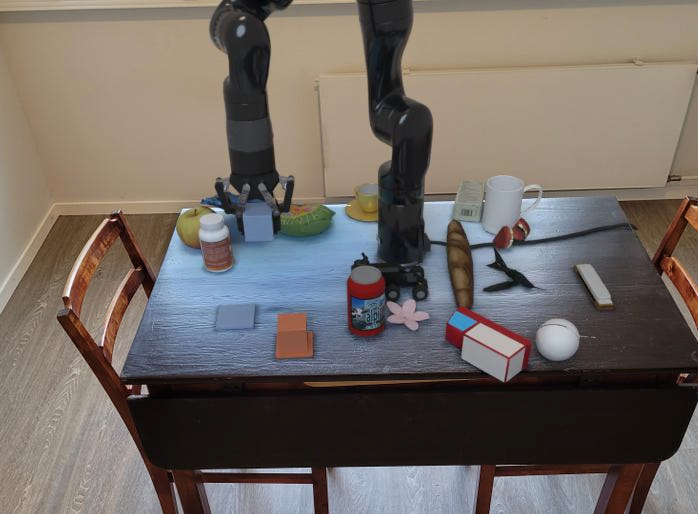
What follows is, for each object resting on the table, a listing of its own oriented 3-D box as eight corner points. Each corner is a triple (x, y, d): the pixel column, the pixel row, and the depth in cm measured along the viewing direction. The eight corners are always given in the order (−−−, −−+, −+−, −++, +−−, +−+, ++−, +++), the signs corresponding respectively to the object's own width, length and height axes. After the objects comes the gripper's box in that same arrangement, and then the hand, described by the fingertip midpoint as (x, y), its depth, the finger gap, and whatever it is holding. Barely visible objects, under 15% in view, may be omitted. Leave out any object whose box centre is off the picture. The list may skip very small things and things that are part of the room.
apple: (235, 233, 153) (222, 200, 148) (204, 257, 148) (189, 224, 143) (207, 228, 159) (193, 196, 154) (176, 251, 154) (161, 219, 149)
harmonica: (613, 309, 131) (616, 301, 130) (597, 310, 131) (600, 302, 130) (588, 268, 143) (589, 260, 141) (573, 269, 142) (575, 260, 141)
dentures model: (511, 243, 144) (537, 229, 148) (499, 227, 145) (524, 214, 148) (499, 257, 149) (524, 244, 153) (487, 242, 150) (512, 229, 153)
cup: (406, 208, 164) (407, 187, 160) (372, 227, 157) (372, 206, 154) (368, 193, 170) (368, 173, 167) (334, 211, 164) (333, 190, 160)
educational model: (323, 246, 151) (322, 223, 148) (254, 238, 155) (251, 215, 151) (340, 221, 161) (339, 199, 157) (275, 214, 164) (273, 192, 161)
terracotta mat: (312, 334, 128) (312, 331, 127) (313, 357, 123) (312, 354, 122) (277, 336, 128) (276, 333, 127) (276, 358, 123) (275, 356, 122)
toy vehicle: (351, 280, 141) (350, 242, 136) (425, 277, 141) (427, 239, 136) (352, 303, 135) (351, 264, 129) (429, 300, 135) (432, 262, 129)
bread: (441, 223, 158) (443, 203, 155) (463, 223, 158) (465, 203, 154) (452, 324, 129) (454, 302, 126) (479, 324, 129) (482, 302, 125)
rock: (263, 216, 146) (261, 225, 147) (283, 197, 162) (282, 205, 162) (196, 200, 147) (195, 209, 148) (222, 183, 162) (221, 191, 163)
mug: (485, 236, 153) (490, 192, 146) (479, 218, 159) (483, 175, 152) (540, 234, 153) (548, 190, 146) (532, 217, 159) (539, 173, 152)
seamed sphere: (522, 343, 118) (533, 313, 122) (543, 372, 121) (553, 342, 125) (577, 333, 111) (587, 302, 115) (597, 364, 114) (606, 332, 118)
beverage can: (357, 344, 125) (355, 288, 118) (342, 323, 130) (340, 268, 122) (391, 334, 127) (391, 278, 120) (375, 314, 132) (375, 259, 124)
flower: (438, 338, 129) (440, 332, 127) (385, 338, 126) (387, 332, 125) (426, 301, 135) (428, 295, 134) (376, 301, 133) (377, 295, 132)
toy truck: (461, 304, 125) (437, 320, 121) (532, 340, 116) (509, 358, 113) (459, 329, 128) (435, 345, 124) (528, 366, 120) (505, 384, 116)
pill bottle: (239, 267, 146) (232, 220, 139) (212, 277, 143) (203, 229, 136) (226, 255, 150) (218, 208, 143) (199, 263, 147) (190, 216, 140)
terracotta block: (307, 334, 127) (306, 312, 124) (308, 352, 123) (306, 329, 120) (280, 336, 127) (277, 313, 123) (279, 353, 123) (277, 330, 120)
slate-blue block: (274, 227, 128) (272, 202, 124) (273, 241, 124) (271, 215, 120) (247, 228, 127) (244, 203, 124) (245, 242, 124) (242, 216, 120)
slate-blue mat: (255, 306, 135) (255, 303, 135) (253, 328, 130) (253, 325, 129) (219, 308, 135) (219, 305, 134) (215, 330, 129) (215, 327, 129)
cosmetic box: (479, 222, 158) (485, 198, 167) (481, 204, 155) (486, 181, 164) (451, 219, 159) (458, 196, 168) (453, 201, 157) (460, 179, 166)
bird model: (531, 275, 146) (542, 301, 138) (475, 265, 144) (482, 291, 136) (541, 253, 143) (552, 279, 135) (483, 242, 141) (491, 268, 133)
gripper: (203, 151, 111) (218, 244, 122) (293, 148, 112) (300, 242, 123) (209, 133, 117) (222, 224, 128) (294, 130, 118) (300, 221, 128)
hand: (260, 232), depth 125 cm, fingers closed on slate-blue block, 5 cm apart
